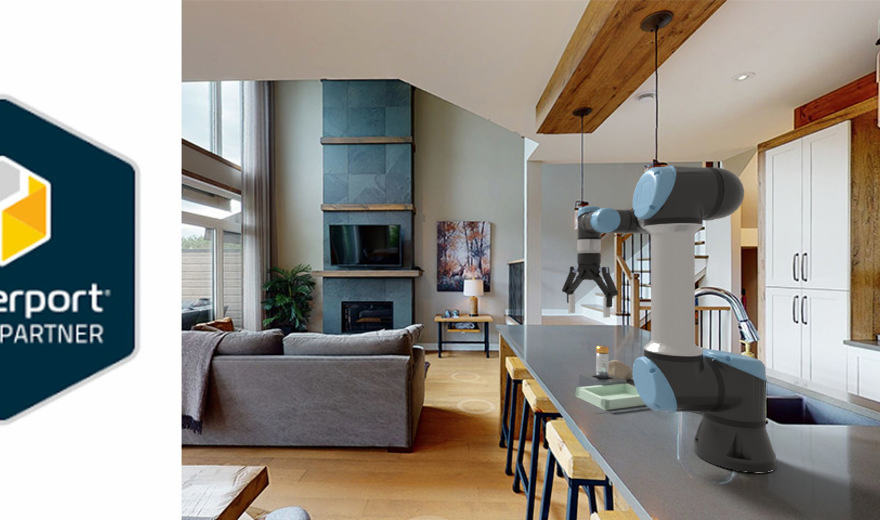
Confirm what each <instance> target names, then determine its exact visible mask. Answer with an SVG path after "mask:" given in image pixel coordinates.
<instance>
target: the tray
mask: <svg viewBox="0 0 880 520" xmlns="http://www.w3.org/2000/svg"><path fill="white" fill-rule="evenodd" d="M575 397H576V398H578V399H580V400H582V401H585V402H587V403H589V404H592V405H593V406H596V407H598V408H599V409H601V410H604V411H608V410H616V409H617V410H618V409H622V408H631V407H638V406H647V405H646V404H645V403H644V402H643V401H642V399H641V398H640V396H639V394H638V392H637V390H636V387H635V385H632V384H630V383H628V382H627V383H623V384H613V385H604V386H602V385H596V386H586V387H584V386H578V387H575Z"/></svg>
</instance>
